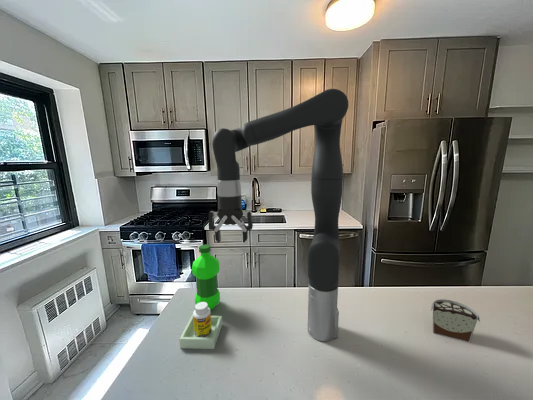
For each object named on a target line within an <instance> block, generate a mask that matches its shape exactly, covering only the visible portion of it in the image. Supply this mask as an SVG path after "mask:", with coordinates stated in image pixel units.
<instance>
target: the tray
mask: <svg viewBox="0 0 533 400" xmlns="http://www.w3.org/2000/svg"><path fill="white" fill-rule="evenodd" d="M222 326H223V316H222V315H211V328H212V331H211V334H210V335H209V336H208V337H195V335H194V324H193V314H192V315H191V316H190V318H189V320H188V321H187V323H186V326H185V327H184V329H183V331H182V333H181V336H180V337H179V348H180V349H192V350H193V349H197V350H201V349H202V350H214V349H216V346H217V342H218V339H219V336H220V332H221V330H222Z"/></svg>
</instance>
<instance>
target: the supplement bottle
mask: <svg viewBox="0 0 533 400" xmlns="http://www.w3.org/2000/svg"><path fill="white" fill-rule="evenodd" d="M211 314H212V312H211V310H210V308H209V307H208V304H207V303H206V302H200V303H197V304H195V305H194V310H193V312H192V315H193V324H194V335H195V337H208V336H209V335H210V334H211V331H212V328H211V316H212V315H211Z"/></svg>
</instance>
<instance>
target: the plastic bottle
mask: <svg viewBox="0 0 533 400" xmlns="http://www.w3.org/2000/svg"><path fill="white" fill-rule="evenodd" d="M211 250H212V249H211V244H207V243H206V244H201V245H199V246H198V253H200V254H199V256H198V257H197V258H196V259H195V260H194V261H193V262H192V266H191V273H192V276H193V277H195V282H196V284H195V285H196V293H195V298H194V304H195V305H196V304H197V303H200V302H206V303H207V304H208V307H209V308H210V311H211V310H213V309H214V308H216V306H217V305H218V304H219V303H220V301H221V292H220V290H219V288H218V279H217V278H218V277H217V276H218V274H219V273H220V261H219V259H218V258H217V257H216V256H214V255H212V254H210V252H211Z"/></svg>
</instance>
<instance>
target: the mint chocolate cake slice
mask: <svg viewBox="0 0 533 400" xmlns="http://www.w3.org/2000/svg"><path fill="white" fill-rule="evenodd" d="M431 311H432V333H434V335H437V336H440V337H441V336H442V337H446V338H449V339H452V340H453V339H454V340H456V341H460V340H461V341H462V342H464V341H465V342H464V343H468V342H469V344H470V343H471V340H472V338H473V337H472V336H473V334H474V331H475V327H476V325H477V322H481V320H480V318H481V317H480V315H479V314H478V312H477V311H475V309H472V308H471V307H469V306H467V305H465V304H463V303H461V302H458V301H454V300H450V299H446V298H445V299H444V298H443V299H442V298H441V299H436V300H434V301H433V302H432V304H431V306H430V312H431ZM461 341H460V342H461Z"/></svg>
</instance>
